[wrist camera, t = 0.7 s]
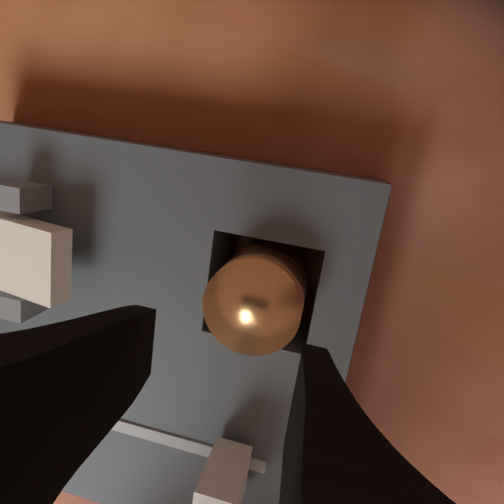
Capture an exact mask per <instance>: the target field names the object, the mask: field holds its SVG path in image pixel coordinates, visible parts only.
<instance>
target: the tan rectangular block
mask: <svg viewBox="0 0 504 504" xmlns="http://www.w3.org/2000/svg"><path fill="white" fill-rule="evenodd" d="M252 447H253V446H249V445H246V444H242V443H239V442H235V441H231V440H228V439H224V438H221V437H217V438H216V441H215V443H214V446H213V448H212V450H211V453H210V455H209V457H208V460H207V462H206V464H205V467H204V469H203V471H202V474H201V476H200V479H199V481H198V483H197V486H196V488H195V490H194V494H193V502H192V504H241V503H242V500H243V496H244V492H245V488H246V482H247V476H248V470H249V465H250V459H251V453H252Z"/></svg>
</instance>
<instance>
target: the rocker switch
mask: <svg viewBox="0 0 504 504" xmlns="http://www.w3.org/2000/svg"><path fill="white" fill-rule="evenodd" d="M72 237H73V229H70V228H66V227H63V226H59V225H55V224H52V223H48V222H44V221H40V220H37V219H33V218H29V217H26V216H22V215H18V214H14V213H10V212H5V211H0V290H1V291H4V292H6V293H9V294H12V295H15V296H17V297H20V298H23V299H26V300H28V301H31V302H34V303H37V304H39V305H42V306H45V307H48V308H53V307H55V306H58V305H61V304H63V303H66V302H68V301H71V274H72Z"/></svg>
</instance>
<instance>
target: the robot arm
mask: <svg viewBox="0 0 504 504" xmlns="http://www.w3.org/2000/svg"><path fill="white" fill-rule="evenodd" d="M155 321H156V309H153V308H149V307H144V306H140V305H129V306H123V307H119V308H114V309H110V310H106V311H102V312H98V313H94V314H90V315H86V316H82V317H78V318H74V319H70V320H66V321H62V322H57V323H52V324H48V325H43V326H39V327H34V328H30V329H24V330H19V331H13V332H7V333H0V504H53V503H54V501H55V500H56V498H57V497H58V495H59V494H60V492H61V491H62V490H63V488H64V487H65V485H66V484H67V483H68V481H69V480H70V479H71V478H72V476H73V475H74V474H75V472H76V471H77V470H78V469H79V467H80V466H81V465H82V464H83V463H84V461H85V460H86V459H87V458H88V457H89V456H90V454H91V453H92V452H93V451H94V450H95V448H96V447H97V446H98V445H99V444H100V442H101V441H102V440H103V439H104V438H105V436H106V435H107V434H108V433H109V432H110V430H111V429H112V428H113V427H114V426H115V424H116V423H117V422H118V421H119V420H120V418H121V417H122V416H123V415H124V414H125V412H126V411H127V410H128V409H129V407H130V406H131V405H132V404H133V402H134V401H135V399H136V397H137V396H138V394H139V393H140V391H141V390H142V388H143V386H144V385H145V383H146V381H147V380H148V378H149V376H150V375H151V366H152V354H153V343H154V332H155ZM279 504H456V503H455V502H453V501H452V500H451V499H449V498H448V497H447V496H446V495H445V494H443V493H442V492H441V491H440V490H439V489H438V488H436V487H435V486H434V485H433V484H432V483H431V482H429V481H428V480H427V479H426V478H425V477H424V476H423V475H422V474H421V473H420V472H419V471H418V470H417V469H416V468H414V467H413V466H412V465H411V464H410V463H409V462H408V461H407V460H406V459H405V458H404V457H403V456H402V455H401V454H400V453H399V452H398V451H397V450H396V449H395V448H394V447H393V446H392V445H391V443H390V442H389V441H388V440H387V439H386V438H385V437H384V436H383V434H382V433H381V432H380V431H379V430H378V429H377V428H376V426H375V425H374V424H373V423H372V422H371V420H370V419H369V418H368V416H367V415H366V414H365V412H364V411H363V410H362V408H361V407H360V405H359V404H358V403H357V401H356V400H355V398H354V397H353V395H352V393H351V392H350V390H349V388H348V387H347V385H346V383H345V382H344V380H343V378H342V376H341V375H340V373H339V371H338V369H337V367H336V365H335V363H334V361H333V359H332V357H331V355H330V353H329V351H328V350H327V348H323V347H319V346H314V345H310V344H306V343H303V347H302V352H301V357H300V362H299V367H298V372H297V377H296V382H295V387H294V392H293V397H292V402H291V407H290V413H289V418H288V423H287V429H286V434H285V439H284V445H283V458H282V471H281V484H280V498H279Z"/></svg>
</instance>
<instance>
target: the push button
mask: <svg viewBox="0 0 504 504" xmlns="http://www.w3.org/2000/svg"><path fill="white" fill-rule="evenodd" d="M306 293H307V278H306V274H305V271H304V269H303V267H302V265H301V263H300V262H299V261H298V259H297V258H296V257H295V256H294V255H293V254H292V253H290V252H289V251H288V250H286V249H284V248H282V247H280V246H277V245H274V244H268V243H259V244H253V245H250V246H247V247H245V248H243V249H242V250H240V251H239V252H238V253H236V254H235V255H234V256H233V257H232V258H231V259H230V260H229V261H228V262H227V263H226V264H225V265H224V266H223V267H222V268H221V269H220V270H219V271H218V272H217V273H216V274H215V275H214V276H213V277H212V278H211V280H210V281H209V282H208V284H207V286H206V289H205V292H204V295H203V303H202V307H203V314H204V318H205V321H206V324H207V326H208V328H209V330H210V331H211V333H212V334H213V335H214V337H215V338H216V339H217V340H218V341H219V342H220V343H221V344H223V345H224V346H225V347H227V348H228V349H230V350H232V351H234V352H237V353H239V354H243V355H248V356H264V355H269V354H272V353H275V352H277V351H279V350H280V349H282V348H283V347H285V346H286V345H287V344H288V343H289V342H290V341H291V340H292V339H293V337H294V336H295V334H296V333H297V330H298V328H299V325H300V321H301V317H302V312H303V307H304V303H305V298H306Z"/></svg>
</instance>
